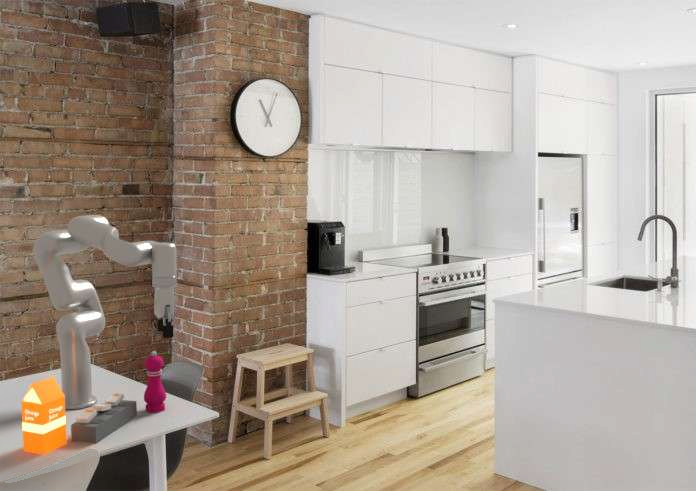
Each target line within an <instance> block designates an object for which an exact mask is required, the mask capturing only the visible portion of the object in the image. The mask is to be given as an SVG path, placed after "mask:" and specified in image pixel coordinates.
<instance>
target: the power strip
mask: <svg viewBox="0 0 696 491" xmlns="http://www.w3.org/2000/svg"><path fill="white" fill-rule="evenodd" d="M137 405H138V404H137V400H126V399H125V400H124V399H122V400H121V401H120V403H119V404H118V405H117V406H111V409H109V410H105V411H97V415H96V416H95V417H94V418H93V419H92V420H91V421H90V422H89V423H77V421H75V422H73V423H72V424H71V425H70V429H71V430H70V432H71V442H75V443H77V442H78V443H88V444H89V443H90V444H97V443H99V442H100V441H102V440H104V439H105V438H106V437H108V436H109V435H112V433H113V432H115V431H117V430H118V429H119V428H122V427H123V426H125V425H126V424H127V423H129V422H130V421H131V420H133V419H134V418H136V417H137V416H138V412H137V411H138V410H137V409H138V408H137Z"/></svg>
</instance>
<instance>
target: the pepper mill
mask: <svg viewBox="0 0 696 491" xmlns="http://www.w3.org/2000/svg"><path fill="white" fill-rule="evenodd" d="M163 367H164V359H163V357H161V356H160V355H158V353H157V351H156V350H152V352H151V353H150V355H149V356H148V357H147V358H146V359H145V360H144V368H146V375H147V379H148V380H147V386H146V389H145V391H144V392H143V393H144V395H143V400H144V402H145V403H146V404H145V412H147V413H151V414H153V413H160V412H163V411H164V410H166V404H165V401H166V399H167V393H166V390H165V388H164V386H163V384H162V378H161V377H162V375H163V369H162V368H163Z"/></svg>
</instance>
